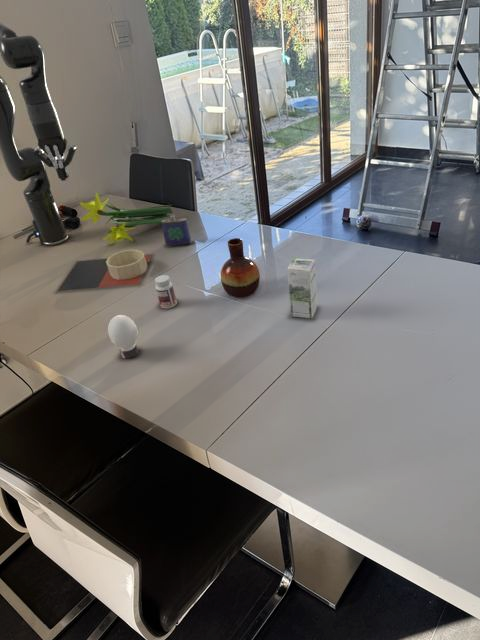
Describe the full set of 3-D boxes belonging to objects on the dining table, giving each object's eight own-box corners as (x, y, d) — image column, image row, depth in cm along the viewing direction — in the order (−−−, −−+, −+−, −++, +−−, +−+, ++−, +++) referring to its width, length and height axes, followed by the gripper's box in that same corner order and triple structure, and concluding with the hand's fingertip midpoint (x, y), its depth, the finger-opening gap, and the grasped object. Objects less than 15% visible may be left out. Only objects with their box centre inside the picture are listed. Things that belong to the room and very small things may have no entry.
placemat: (57, 292, 148) (57, 291, 148) (78, 262, 164) (77, 261, 164) (139, 285, 147) (138, 283, 146) (151, 255, 162) (151, 254, 162)
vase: (267, 283, 139) (262, 234, 130) (251, 303, 131) (244, 252, 122) (234, 279, 143) (226, 231, 134) (216, 298, 135) (207, 248, 126)
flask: (192, 241, 168) (186, 212, 162) (191, 245, 166) (184, 215, 159) (167, 243, 169) (159, 214, 162) (165, 247, 167) (158, 218, 160)
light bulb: (119, 365, 115) (105, 328, 108) (114, 350, 120) (101, 314, 113) (146, 356, 117) (134, 319, 110) (140, 342, 122) (129, 306, 115)
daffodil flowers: (187, 228, 180) (100, 238, 157) (168, 241, 191) (84, 252, 168) (173, 185, 179) (84, 188, 156) (155, 200, 190) (69, 205, 167)
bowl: (106, 281, 150) (101, 268, 147) (115, 263, 159) (111, 251, 157) (143, 278, 149) (139, 265, 146) (150, 260, 159) (147, 248, 156)
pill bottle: (170, 298, 138) (163, 272, 133) (180, 303, 135) (173, 277, 130) (157, 305, 136) (149, 279, 131) (166, 310, 133) (159, 284, 128)
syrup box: (317, 307, 126) (315, 258, 117) (312, 320, 122) (309, 269, 113) (296, 305, 128) (293, 256, 119) (290, 317, 124) (286, 268, 115)
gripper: (71, 114, 139) (89, 174, 150) (27, 118, 140) (48, 177, 151) (62, 120, 133) (82, 182, 144) (16, 124, 134) (39, 185, 145)
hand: (64, 179), depth 147 cm, fingers closed
